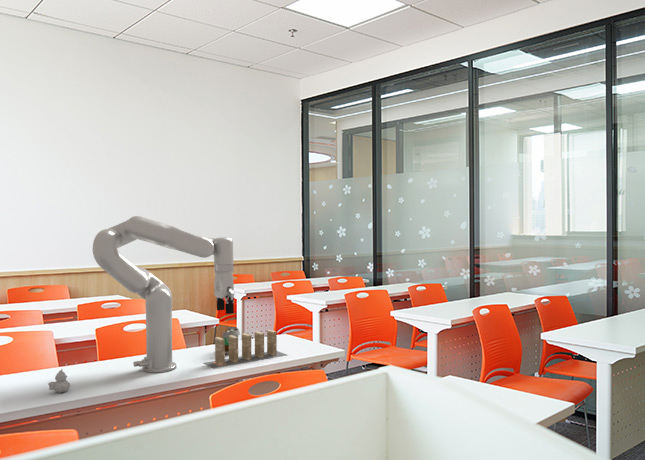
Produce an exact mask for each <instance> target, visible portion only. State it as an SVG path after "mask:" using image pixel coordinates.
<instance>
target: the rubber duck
mask: <svg viewBox="0 0 645 460" xmlns="http://www.w3.org/2000/svg"><path fill="white" fill-rule="evenodd" d="M67 377H68V375H66V373H65V372H64V371H63V368H61V369H60V370H59V371H58V372H57V373H56V375H55V377H54V380H55V381H50V382H48V383H47V384H48V387H49V388H48V390H49V391H54V392H55V393H59V394H62V393H64V392H67V391H68V390H69V389H70V387H71V383H70V381H69V380H67Z"/></svg>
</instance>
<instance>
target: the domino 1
mask: <svg viewBox="0 0 645 460" xmlns="http://www.w3.org/2000/svg"><path fill="white" fill-rule="evenodd" d="M214 356H215V358H214V361H215V363H217V364H219V365H225V359H226V357H225V356H226V355H225V339H223V337H220V336H217V337H215V338H214Z"/></svg>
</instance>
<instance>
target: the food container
mask: <svg viewBox="0 0 645 460" xmlns="http://www.w3.org/2000/svg"><path fill="white" fill-rule="evenodd" d="M229 335H233V336H236V337H238V338H239V335H241V333H240V330H239V328H238V327H235V326H228V327H227V330H225V331H223V332H222V338H223V339H225V356H226V355H228V356H229Z"/></svg>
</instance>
